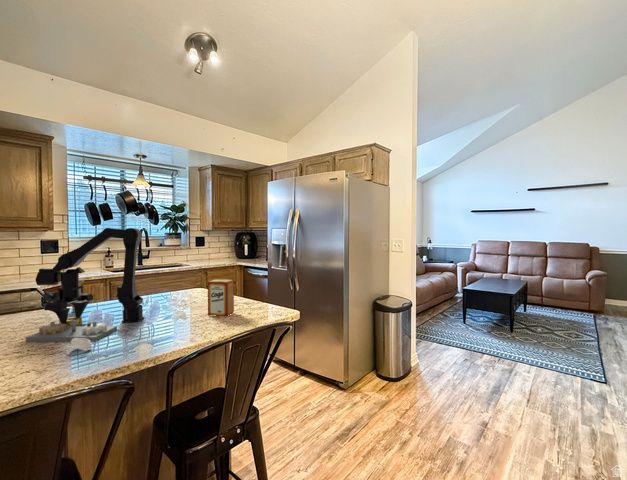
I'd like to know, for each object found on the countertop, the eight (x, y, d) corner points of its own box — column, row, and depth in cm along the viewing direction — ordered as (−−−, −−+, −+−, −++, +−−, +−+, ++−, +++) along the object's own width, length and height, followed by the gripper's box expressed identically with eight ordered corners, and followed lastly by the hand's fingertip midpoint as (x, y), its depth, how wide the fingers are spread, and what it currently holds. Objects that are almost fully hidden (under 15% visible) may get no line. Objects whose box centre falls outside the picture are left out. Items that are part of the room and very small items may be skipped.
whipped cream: (65, 353, 99) (63, 338, 99) (90, 346, 104) (88, 331, 103) (68, 358, 93) (65, 343, 93) (95, 350, 98) (92, 335, 98)
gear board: (117, 330, 119) (116, 316, 119) (95, 341, 107) (95, 325, 107) (54, 330, 118) (53, 316, 118) (25, 341, 106) (25, 325, 106)
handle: (87, 309, 150) (86, 279, 149) (73, 313, 143) (73, 281, 143) (79, 309, 151) (78, 278, 150) (66, 312, 145) (65, 280, 144)
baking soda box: (208, 315, 139) (207, 280, 139) (215, 312, 146) (215, 278, 145) (227, 317, 137) (227, 281, 137) (233, 313, 144) (233, 279, 143)
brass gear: (85, 322, 129) (85, 316, 129) (73, 327, 122) (72, 321, 122) (68, 322, 129) (68, 316, 129) (54, 327, 122) (54, 321, 122)
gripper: (67, 280, 134) (68, 316, 135) (29, 288, 115) (30, 329, 116) (93, 280, 134) (94, 316, 135) (59, 288, 116) (60, 329, 116)
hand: (70, 322), depth 125 cm, fingers closed on brass gear, 7 cm apart
